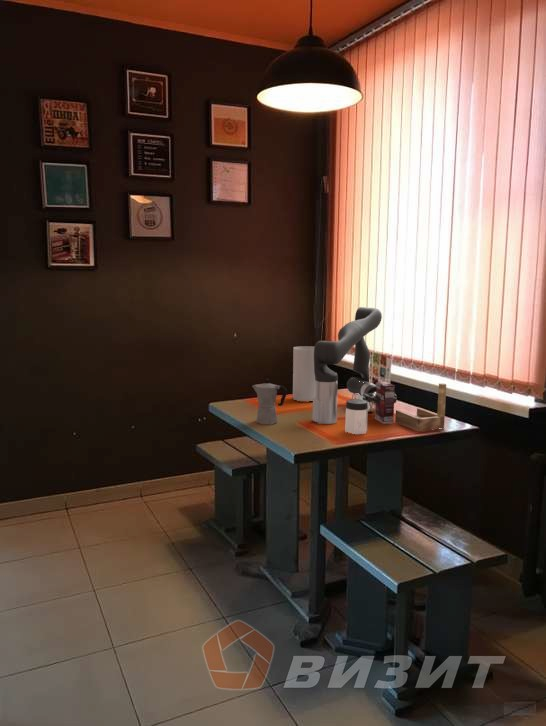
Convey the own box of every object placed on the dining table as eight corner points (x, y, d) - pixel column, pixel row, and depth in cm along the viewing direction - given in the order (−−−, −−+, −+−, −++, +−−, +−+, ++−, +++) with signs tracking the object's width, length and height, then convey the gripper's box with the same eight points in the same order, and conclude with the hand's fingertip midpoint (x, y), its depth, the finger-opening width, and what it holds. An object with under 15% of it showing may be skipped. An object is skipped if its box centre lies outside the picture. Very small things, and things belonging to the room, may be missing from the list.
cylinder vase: (290, 397, 293) (291, 346, 289) (315, 396, 295) (316, 346, 291) (295, 403, 281) (296, 350, 277) (321, 402, 283) (323, 349, 279)
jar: (348, 435, 228) (349, 404, 226) (341, 429, 236) (342, 399, 234) (371, 433, 230) (372, 403, 228) (363, 428, 238) (364, 398, 236)
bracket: (418, 431, 233) (420, 386, 230) (395, 422, 248) (397, 379, 245) (443, 429, 238) (446, 384, 235) (419, 419, 252) (421, 377, 249)
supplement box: (374, 418, 253) (375, 381, 250) (384, 418, 254) (386, 381, 251) (383, 424, 244) (384, 385, 242) (393, 423, 246) (395, 385, 243)
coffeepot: (247, 422, 245) (247, 379, 242) (256, 417, 253) (257, 375, 250) (282, 427, 239) (282, 382, 236) (291, 421, 247) (291, 378, 244)
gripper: (356, 384, 259) (370, 392, 243) (387, 383, 262) (403, 391, 246) (355, 401, 261) (370, 410, 245) (387, 400, 264) (403, 409, 248)
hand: (387, 401), depth 246 cm, fingers open, 6 cm apart
